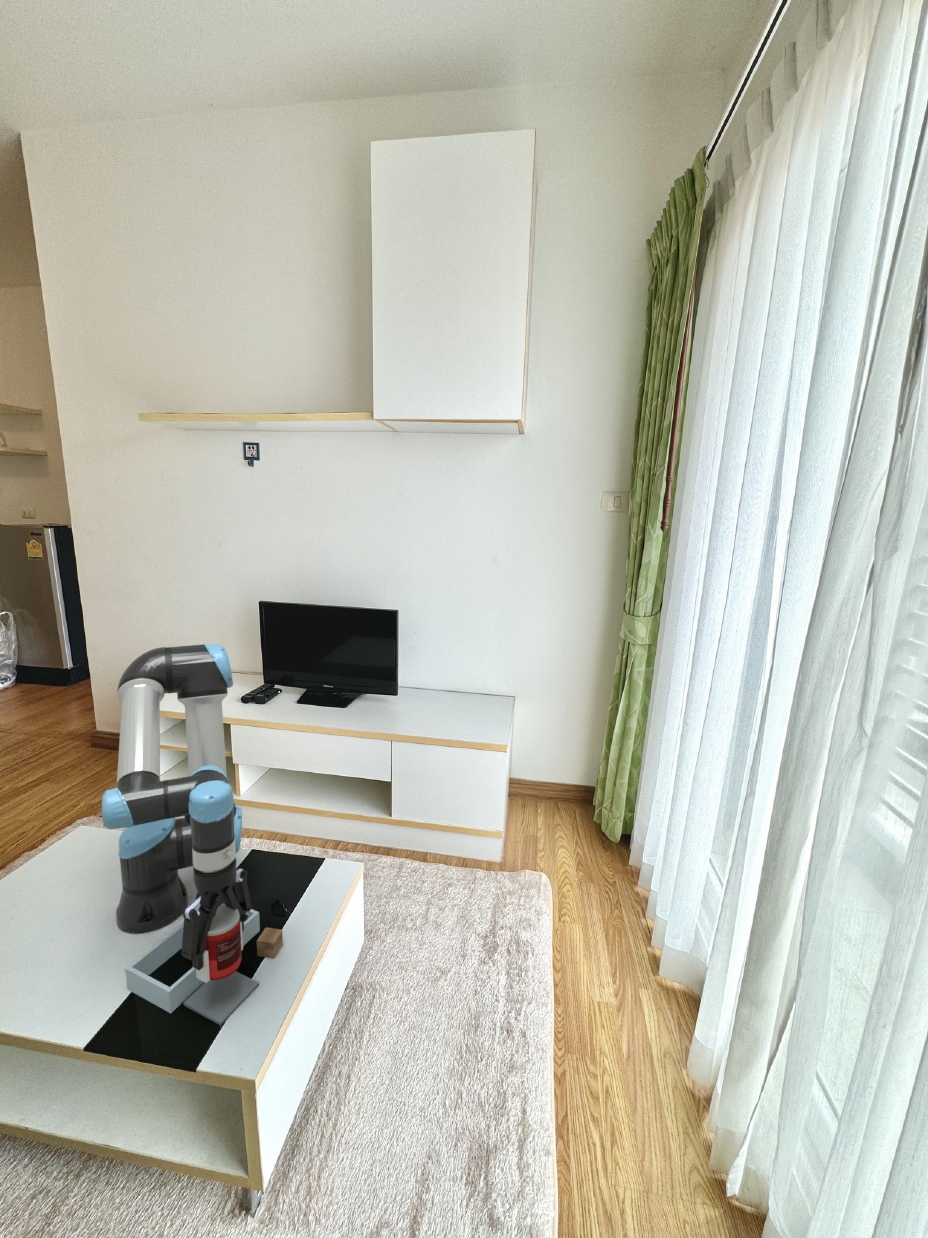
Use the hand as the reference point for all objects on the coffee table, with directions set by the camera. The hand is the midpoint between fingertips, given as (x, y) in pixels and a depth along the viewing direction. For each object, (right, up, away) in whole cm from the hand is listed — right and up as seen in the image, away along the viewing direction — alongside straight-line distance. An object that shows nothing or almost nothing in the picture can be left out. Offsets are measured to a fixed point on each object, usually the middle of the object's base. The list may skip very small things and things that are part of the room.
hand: (220, 963), depth 108 cm
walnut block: (+5, -6, +13) cm, 15 cm away
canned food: (0, -1, 0) cm, 1 cm away
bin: (-10, -5, +10) cm, 15 cm away
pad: (0, -8, +2) cm, 8 cm away
